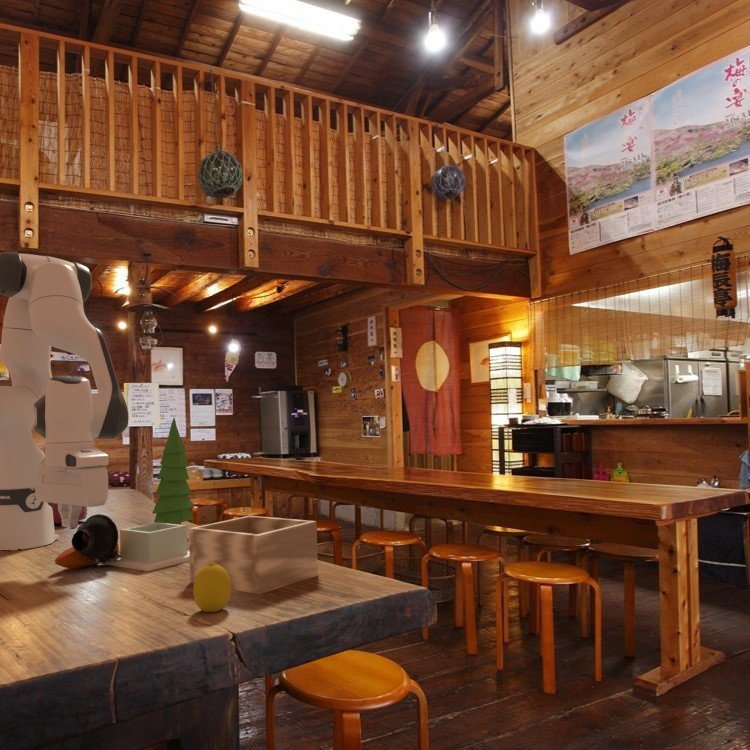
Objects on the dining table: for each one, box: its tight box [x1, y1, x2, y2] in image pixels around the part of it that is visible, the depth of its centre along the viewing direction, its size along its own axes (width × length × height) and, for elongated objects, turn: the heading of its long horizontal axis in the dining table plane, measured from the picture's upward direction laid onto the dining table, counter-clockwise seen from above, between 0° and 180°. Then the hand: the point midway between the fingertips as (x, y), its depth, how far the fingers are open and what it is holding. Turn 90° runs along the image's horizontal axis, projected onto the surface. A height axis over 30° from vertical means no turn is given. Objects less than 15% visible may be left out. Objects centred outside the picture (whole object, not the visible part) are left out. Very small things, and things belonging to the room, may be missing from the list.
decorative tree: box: [151, 417, 195, 542], centre depth 161 cm, size 10×9×30 cm
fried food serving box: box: [188, 515, 319, 595], centre depth 120 cm, size 17×15×10 cm
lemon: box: [192, 562, 232, 613], centre depth 100 cm, size 6×6×8 cm
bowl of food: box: [71, 513, 122, 565], centre depth 136 cm, size 9×11×18 cm
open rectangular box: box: [104, 522, 190, 572], centre depth 139 cm, size 14×14×7 cm
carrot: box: [54, 544, 97, 569], centre depth 135 cm, size 5×5×15 cm
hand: (70, 526), depth 132 cm, fingers closed
